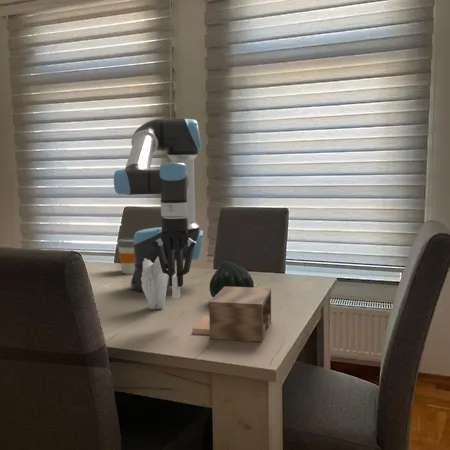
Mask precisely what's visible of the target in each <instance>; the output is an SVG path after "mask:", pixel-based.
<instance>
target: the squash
mask: <svg viewBox="0 0 450 450" xmlns="http://www.w3.org/2000/svg"><path fill="white" fill-rule="evenodd" d="M254 284H255V283H254V280H253V278H252V276H251V273H249V271H248V270H247V269H246V268H244V267H243V266H240V265H239V264H236V263H233V262H230V261H227V260H226V261H225V260H223V261H222V262H221V263H220V264H219V265H218V268H216V271H215V273H213V276H212V277H211V279H210V282H209V293H210V295H211V297H212V299H213V298H214V297H215V296H216V295H217V293H218V292H219V291H220V290H221V289H222V288H223V287H224V286H228V287H253V288H255V286H254Z"/></svg>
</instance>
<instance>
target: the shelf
mask: <svg viewBox="0 0 450 450" xmlns="http://www.w3.org/2000/svg"><path fill="white" fill-rule="evenodd" d="M208 302H209V303H208V306H209V307H208V308H209V309H208V310H209V311H208V313H209V314H208V316H209V317H210V335H209V339H210V338H211V339H210V340H220V339H228V340H227V341H235V340H243V341H242V342H250V341H260V342H259V343H263V342H264V340H263V339H265V337H266V335H267V334H266V330H267V329H268V328H269V327H270V325H271V323H272V288H271V287H254V288H253V287H228V286H224V287H223V288H222V289H221V290H220V291H219V292H218V293H217V295H216V296H215V297H214V298H213V297H212V298H211V300H209V301H208ZM266 328H267V329H266ZM269 329H270V328H269ZM262 341H263V342H262Z"/></svg>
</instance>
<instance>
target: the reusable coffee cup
mask: <svg viewBox="0 0 450 450" xmlns="http://www.w3.org/2000/svg"><path fill="white" fill-rule="evenodd" d="M117 247H118V257H119V263H120V264H121V270H122V273H123V274H124V273H126V275H133V274H134V270H135V256H134V237H131V238H130V237H128V238H121V239H118V240H117Z"/></svg>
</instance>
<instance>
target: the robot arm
mask: <svg viewBox="0 0 450 450" xmlns="http://www.w3.org/2000/svg"><path fill="white" fill-rule="evenodd" d="M198 123H199V122H198V121H197V120H196V119H192V118H165V119H162V118H158V119H157V118H156V119H152V120H149V121H147V122H144V124H141V126H139V127H138V128H137V129H136V130H135V131H134V133H133V135H132V136H131V141H130V143H131V150H130V152H129V155H128V159H127V162H126V165H125V168H124V169H123V168H122V169H117V170H115V172H114V174H113V187H114V192H115V193H116V194H118V195H123V196H124V195H126V196H133V195H134V196H135V195H136V196H137V195H141V196H142V195H160V216H161V217H162V218H161V221H160V222H161V223H160V225H161V226H160V227H151V228H150V227H149V228H144V229H141V230H138V231H136V232H135V233H134V236H133V238H134V256H135V270H134V274H132V277H131V281H130V289H131V290H133V291H135V292H143V293H144V291H143V289H142V281H141V277H142V271H143V261H145V260H144V258H146V259H147V260H150V261H151V262H152V263H155V260H156V259H157V257H159V261H160V265H161V269H162V272H163V273H164V274H168V283H167V289H169V288H170V287H171V288H172V289H171V291H172V294H171V295H172V299H179V298H180V297H181V287H183V285H184V275H187V274H188V273H189V272H190V268H191V265H192V261H197V260H199V259H200V257H201V254H202V253H201V252H202V245H203V236H204V231H203V230H202V229H200V225H199V224H198V222H196V197H195V195H196V194H195V192H196V190H195V189H196V188H195V160H196V158H197V157H198V155H199V151H202V142H201V135H200V128H199V124H198ZM156 151H160V152H161V151H164V152H165V151H166V156H167V157H168V158H169V159H170V160H171V162H162V163H161V164H160V166H159V169H150V168H151V164H152V160H153V157H154V153H155V152H156ZM175 261H176V262H175ZM175 265H176V268H175ZM175 269H176V270H175ZM160 274H161V273H160ZM150 281H151V280H150Z"/></svg>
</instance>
